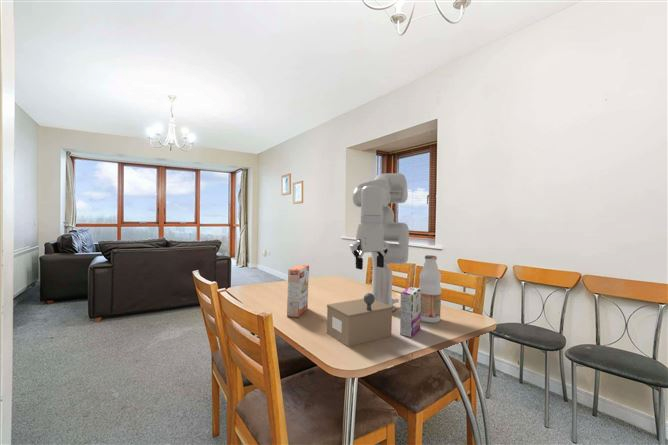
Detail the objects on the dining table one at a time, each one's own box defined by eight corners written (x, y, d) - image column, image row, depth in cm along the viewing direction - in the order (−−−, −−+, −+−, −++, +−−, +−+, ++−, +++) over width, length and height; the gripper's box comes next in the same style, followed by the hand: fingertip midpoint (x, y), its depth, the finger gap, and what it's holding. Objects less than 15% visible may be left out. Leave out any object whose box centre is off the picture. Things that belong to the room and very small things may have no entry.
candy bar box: (408, 326, 124) (409, 286, 124) (420, 328, 122) (421, 288, 121) (399, 335, 115) (400, 292, 114) (412, 338, 112) (413, 294, 112)
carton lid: (368, 299, 126) (369, 283, 126) (393, 309, 114) (393, 291, 114) (326, 306, 115) (327, 288, 115) (349, 318, 103) (349, 298, 103)
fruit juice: (417, 321, 130) (419, 256, 129) (417, 314, 139) (419, 254, 138) (441, 324, 127) (443, 258, 127) (439, 317, 136) (441, 255, 136)
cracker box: (299, 318, 131) (300, 270, 131) (286, 316, 132) (287, 269, 132) (308, 308, 145) (309, 264, 144) (296, 307, 146) (297, 264, 145)
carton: (367, 323, 126) (368, 299, 126) (391, 335, 114) (392, 309, 114) (326, 333, 115) (326, 306, 115) (347, 347, 103) (348, 317, 103)
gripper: (382, 220, 117) (381, 265, 117) (345, 219, 107) (344, 268, 108) (396, 221, 110) (394, 268, 111) (358, 220, 101) (356, 271, 101)
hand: (369, 268), depth 109 cm, fingers open, 9 cm apart
